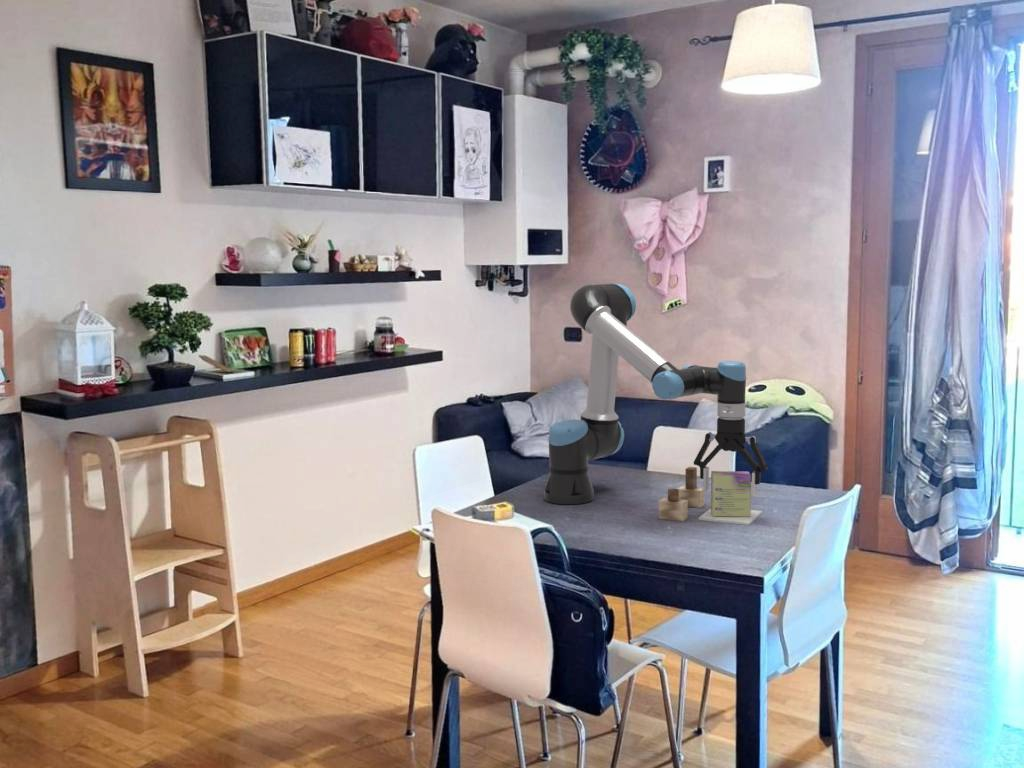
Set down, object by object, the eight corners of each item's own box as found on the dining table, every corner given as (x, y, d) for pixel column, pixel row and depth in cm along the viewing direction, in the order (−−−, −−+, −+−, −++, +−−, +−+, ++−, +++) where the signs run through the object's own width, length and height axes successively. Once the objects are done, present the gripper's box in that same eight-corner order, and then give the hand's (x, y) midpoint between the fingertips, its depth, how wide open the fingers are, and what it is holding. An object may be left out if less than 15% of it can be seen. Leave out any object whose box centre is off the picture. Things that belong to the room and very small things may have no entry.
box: (748, 511, 278) (748, 470, 277) (750, 517, 273) (751, 475, 271) (710, 511, 279) (710, 470, 278) (712, 517, 274) (712, 475, 272)
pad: (698, 519, 273) (698, 517, 273) (713, 508, 285) (713, 506, 285) (749, 525, 267) (749, 523, 266) (762, 513, 279) (762, 511, 279)
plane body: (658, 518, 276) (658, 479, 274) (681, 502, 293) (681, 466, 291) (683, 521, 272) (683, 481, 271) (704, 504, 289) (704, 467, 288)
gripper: (683, 416, 275) (682, 491, 278) (773, 422, 263) (771, 500, 266) (691, 412, 282) (690, 485, 284) (780, 418, 270) (778, 494, 273)
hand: (729, 493), depth 275 cm, fingers open, 13 cm apart
